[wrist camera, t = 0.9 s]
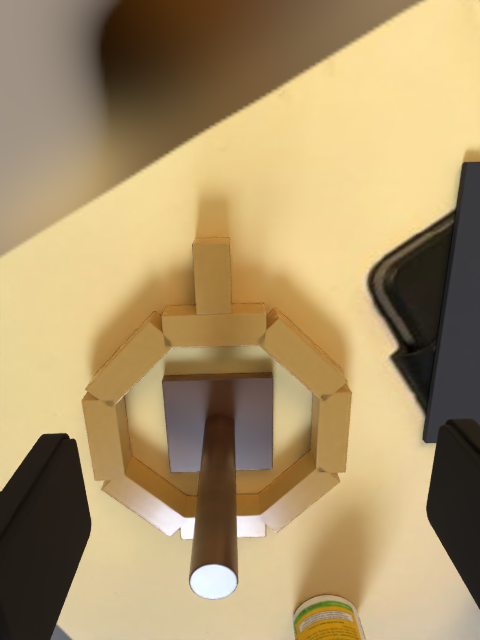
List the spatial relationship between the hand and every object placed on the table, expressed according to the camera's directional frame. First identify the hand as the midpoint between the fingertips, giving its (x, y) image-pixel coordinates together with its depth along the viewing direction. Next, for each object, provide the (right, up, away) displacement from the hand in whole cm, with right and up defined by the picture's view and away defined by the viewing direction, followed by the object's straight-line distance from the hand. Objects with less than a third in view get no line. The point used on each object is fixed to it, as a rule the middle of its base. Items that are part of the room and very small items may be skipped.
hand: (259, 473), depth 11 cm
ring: (-2, -1, +17) cm, 17 cm away
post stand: (-2, -3, +17) cm, 18 cm away
